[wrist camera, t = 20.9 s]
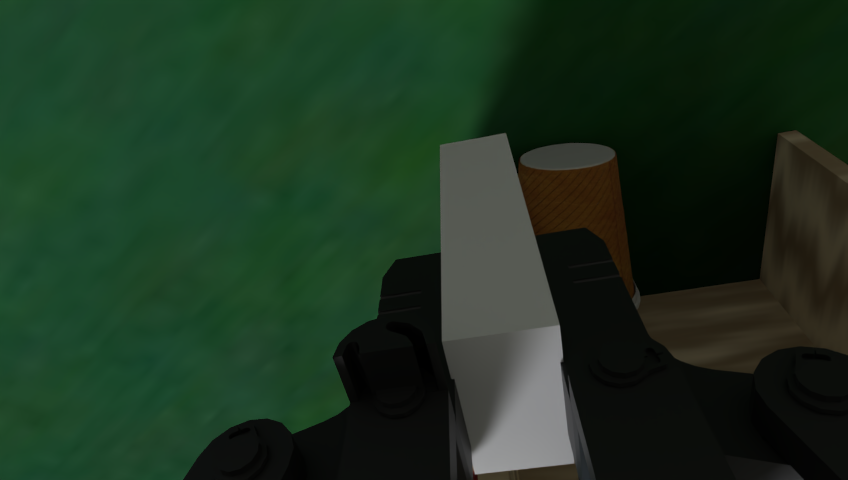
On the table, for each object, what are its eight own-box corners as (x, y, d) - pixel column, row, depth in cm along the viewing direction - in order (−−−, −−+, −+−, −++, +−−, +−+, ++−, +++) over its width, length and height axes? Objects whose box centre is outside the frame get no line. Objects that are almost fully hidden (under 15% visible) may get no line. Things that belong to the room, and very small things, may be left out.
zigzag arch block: (458, 189, 43) (504, 881, 13) (796, 130, 40) (1870, 851, 10) (485, 329, 50) (556, 982, 20) (773, 288, 47) (1358, 982, 17)
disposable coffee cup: (511, 139, 43) (521, 278, 48) (478, 178, 35) (494, 340, 40) (645, 133, 40) (642, 284, 44) (641, 176, 32) (638, 354, 36)
